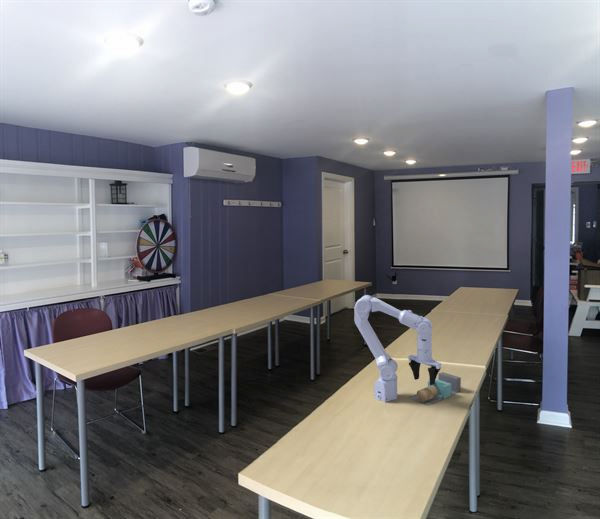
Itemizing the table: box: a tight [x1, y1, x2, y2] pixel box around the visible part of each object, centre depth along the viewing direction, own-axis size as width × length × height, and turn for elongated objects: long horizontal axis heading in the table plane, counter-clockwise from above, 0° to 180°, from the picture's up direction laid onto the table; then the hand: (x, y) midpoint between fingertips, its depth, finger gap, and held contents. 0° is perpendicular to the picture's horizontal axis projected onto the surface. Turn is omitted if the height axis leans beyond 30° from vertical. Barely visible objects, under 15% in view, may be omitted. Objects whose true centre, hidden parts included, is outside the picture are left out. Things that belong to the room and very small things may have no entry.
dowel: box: [416, 385, 439, 403], centre depth 184 cm, size 8×5×5 cm, turn 127°
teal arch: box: [427, 378, 452, 400], centre depth 189 cm, size 5×8×5 cm, turn 37°
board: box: [409, 391, 457, 406], centre depth 188 cm, size 20×10×1 cm, turn 127°
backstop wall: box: [437, 371, 462, 394], centre depth 195 cm, size 3×9×6 cm, turn 37°
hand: (424, 381), depth 182 cm, fingers open, 7 cm apart
